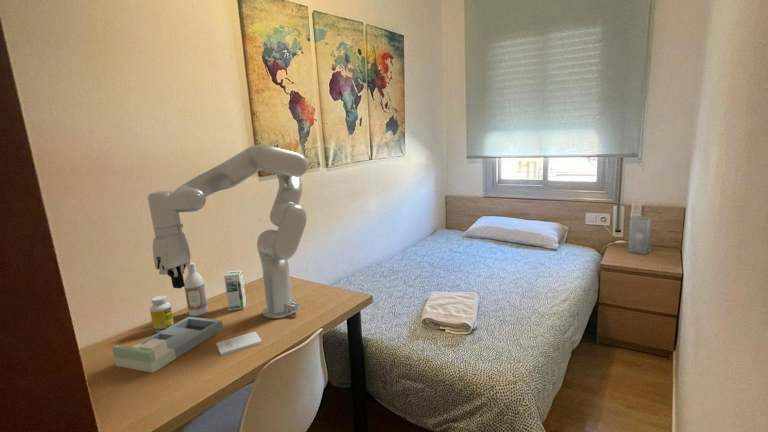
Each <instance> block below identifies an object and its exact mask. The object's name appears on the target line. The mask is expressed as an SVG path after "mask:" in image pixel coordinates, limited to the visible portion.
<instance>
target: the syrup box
mask: <svg viewBox="0 0 768 432" xmlns="http://www.w3.org/2000/svg"><path fill="white" fill-rule="evenodd" d="M223 277H224V285H225V291H226V298H227V306H228V312H232V311H237V310H244V309H245V307H246V305H247V298H246V291H245V284H244V283H245V282H244V276H243V269H240V270H232V271H229V270H228V271H227V272H225V274H224V276H223Z"/></svg>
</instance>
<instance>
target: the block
mask: <svg viewBox="0 0 768 432" xmlns="http://www.w3.org/2000/svg"><path fill="white" fill-rule="evenodd" d="M139 348H140V349H146V350H152V351H154V354H155V359H156V358H157V357H159V356H160V355H162V354H164V353H165V352H167V351H168V348H167V342H166V340H162V339H154V338H153V339H151V340H150V341H148V342H146V343H144V344H142V345H141V346H139Z"/></svg>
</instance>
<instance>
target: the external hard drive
mask: <svg viewBox="0 0 768 432" xmlns="http://www.w3.org/2000/svg"><path fill="white" fill-rule="evenodd" d="M215 344H216V345H215V346H216V348H217V350H218V353H219V355H220V356H225V355H229V354H232V353H235V352H238V351H242V350H245V349H249V348H251V347H254V346H258V345H261V344H262V339H261V337H260V336H259V335H258V333H257V332H256V331H253V332H249V333H245V334H242V335H238V336H235V337H231V338H229V339H228V338H227V339H225V340H222V341H219V342H215Z"/></svg>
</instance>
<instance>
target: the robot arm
mask: <svg viewBox="0 0 768 432" xmlns="http://www.w3.org/2000/svg"><path fill="white" fill-rule="evenodd" d="M308 167H309V165H308V160H307V159H306V157H305V156H304V155H302V153H299V152H295V151H293V150H288V149H283V148H280V147H276V146H272V145H269V144H258V145H257V144H256V145H252V146H249V147H247V148H246V149H245V148H244V150H242V151H240V152H239V153H236V155H234V156H233V157H230V158H228V159H227V160H225V161H223V162H221V163H220V164H218V165H216V166H215V167H212V168H210V169H208V170H207V171H205V172H203V173H201V174H199V175H197V176H195V177H193V178H192V179H190V180H188V181H186V182H185V183H182V184H181V185H180V186H178V187H177V188H175V189H174V191H172V190H159V191H154V192H151V193H149V194H148V196H147V202H148V206H149V212H150V216H151V221H152V222H151V223H152V227H153V232H154V233H153V234H154V238H152V256H153V257H152V259H153V265H154V267H155V269H156V270H159V271H158V273H159V275H163V276H164V275H167V276H168V277H170V279H171V285H172V288H173V289H182V288H184V286H185V285H184V282H185V279H184V276H183V275H184V274H185V270H186V268H187V266H188V265H189V264H190V263H191V251H190V246H189V242H188V240H187V237H186V234H185V233H184V231H183V228H184V225H183V223H182V222H181V221H182V220H181V217H180V213H190V212H191V213H193V212H198V211H200V210H202V209H203V208H204V206H205V205H206V202H207V198H206V197H209V196H210V195H212V194H214V193H215V194H216V193H218V192H221V191H224V190H228V189H231V188H234V187H236V186H238V185H240V184H241V183H242V182H244V181H246V180H248V179H249V178H250V177H252V176H254V175H255V174H257V173H258V172H260V171H269V172H273V173H274V174H275V175H276V177H277V180H278V188H277V189H278V191H277V193H276V196H275V199H274V201H273V205H272V208H271V210H270V213H269V220H270V222H271V224H273V225H274V226H275V227H278V228H277V230H276V229H266V230H264V231H262V232H261V233H260V234H259V235H258V237H257V242H256V248H257V252H258V255H259V259H260V263H261V271H262V280H263V288H264V289H263V290H264V296H265V304H266V305H265V306H266V307H265V308H264V309H263V310H262V315H263V317H265V318H267V319H282V318H287V317H290V316H291V315H293V314H295V313H296V312H297V311H298V312H299V311H300V310H301V307H302V306H301V305H302V303H301V302H296V299H295V298H294V297H293V296H292V295H293V292H292V285H291V277H290V275H291V274H290V267H289V266H290V265H289V259H292V258H293V257H294V255H295V254H296V252H297V250H298V247H299V246H300V245H299V244H300V242H301V239H302V237H303V234H304V231H305V228H306V225H307V213H306V210H305V209H304V207H303V206H301V205H300V204H299V203H300V200H301V196H302V191H303V183H302V179H301V177H302V176H303V175H305V174H306V172H307V170H308Z"/></svg>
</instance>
